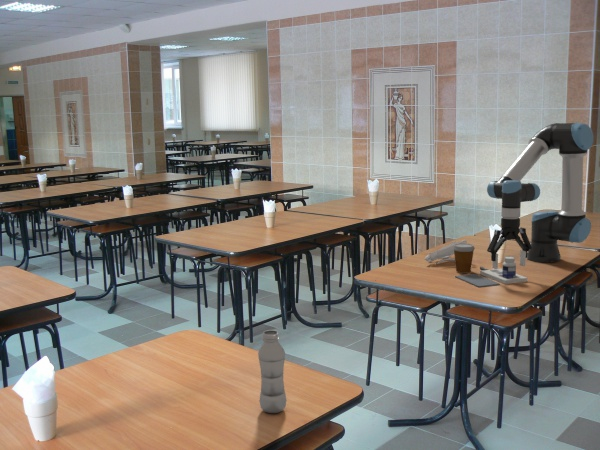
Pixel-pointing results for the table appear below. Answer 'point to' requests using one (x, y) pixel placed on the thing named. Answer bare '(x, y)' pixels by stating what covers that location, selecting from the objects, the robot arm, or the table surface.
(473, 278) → the rubber mat
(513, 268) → the pill bottle
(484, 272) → the socket strip
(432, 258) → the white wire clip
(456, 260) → the disposable coffee cup
